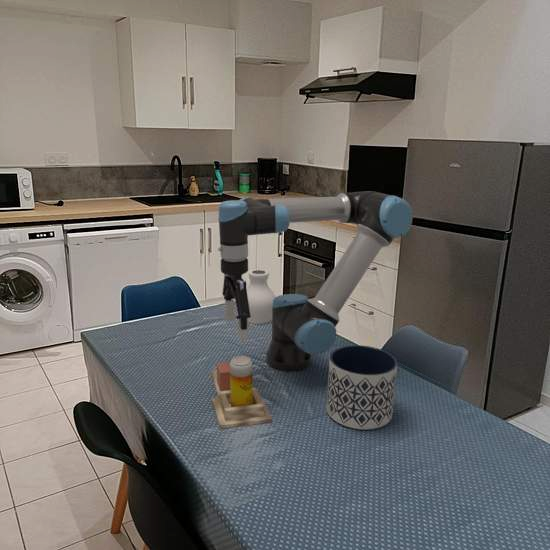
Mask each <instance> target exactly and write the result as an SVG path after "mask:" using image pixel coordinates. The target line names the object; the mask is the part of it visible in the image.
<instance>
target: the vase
mask: <svg viewBox="0 0 550 550" xmlns="http://www.w3.org/2000/svg"><path fill="white" fill-rule="evenodd" d="M269 276H270V272H269V271H268V269H267V270H266V269H260V268H259V269H258V268H256V269H255V268H254V269H250V270H248V278H249V282H250V283H249V285H248V287H246V289H247V296H248V303H249V309H250V315H251V317H250V318H248V324H250V325H251V324H252V325H266V324H269V323H272V306H273V300H274V298H275V297H276V294H275V293H274V291H273V290H272V289H271V288H270V287H269V286H268V279H269ZM243 314H245V313H243Z"/></svg>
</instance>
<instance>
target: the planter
mask: <svg viewBox="0 0 550 550" xmlns="http://www.w3.org/2000/svg"><path fill="white" fill-rule="evenodd" d="M397 370H398V361H397V359H396V357H395V356H394V355H392V354H391V353H389V352H388V351H386V350H384V349H380V348H378V347H375V346H370V345H361V344H360V345H358V344H356V345H355V344H354V345H345V346H341V347H338V348H335V350H333V351H332V352H331V353H330V354H329V360H328V373H327V374H328V375H327V376H328V377H327V390H326V391H327V393H326V396H327V397H326V411H327V414H328V415H329V417H330V418H331V419H332V420H334V421H335V422H336V423H338V424H340V425H342V426H345V427H347V428H350V429H355V430H375V429H379V428H383V427H384V426H386V425H388V424H389V422H391V420H392V418H393V413H394V404H395V403H394V402H395V401H394V400H395V391H396V382H397V381H396V380H397V372H398V371H397Z"/></svg>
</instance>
